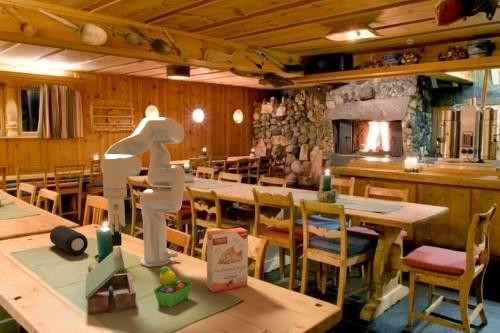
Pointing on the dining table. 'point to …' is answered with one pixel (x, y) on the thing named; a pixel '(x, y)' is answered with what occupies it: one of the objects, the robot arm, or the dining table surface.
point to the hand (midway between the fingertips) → (116, 245)
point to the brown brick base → (121, 292)
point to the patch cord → (111, 297)
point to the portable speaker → (69, 240)
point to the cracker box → (227, 259)
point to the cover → (103, 272)
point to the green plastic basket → (171, 288)
